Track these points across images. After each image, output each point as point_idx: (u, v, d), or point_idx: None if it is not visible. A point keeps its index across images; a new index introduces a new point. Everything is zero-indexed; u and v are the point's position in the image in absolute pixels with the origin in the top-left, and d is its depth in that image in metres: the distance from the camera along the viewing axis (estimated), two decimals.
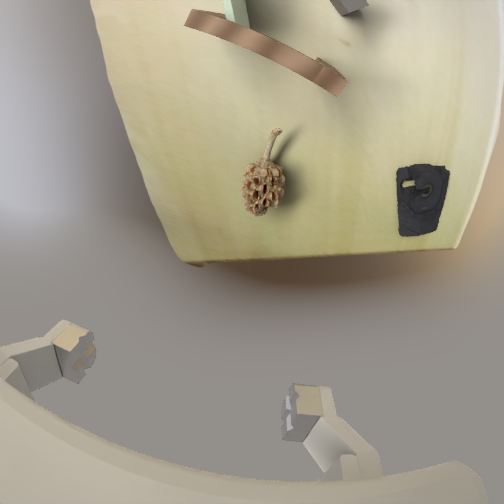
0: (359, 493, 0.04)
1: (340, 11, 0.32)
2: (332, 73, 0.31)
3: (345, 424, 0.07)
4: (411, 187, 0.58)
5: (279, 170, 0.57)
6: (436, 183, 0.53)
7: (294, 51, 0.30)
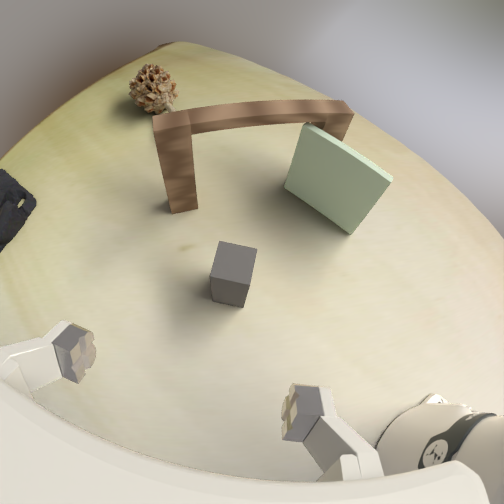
0: (359, 493, 0.04)
1: None
2: (175, 125, 0.26)
3: (345, 424, 0.07)
4: None
5: (148, 101, 0.45)
6: None
7: (231, 117, 0.27)
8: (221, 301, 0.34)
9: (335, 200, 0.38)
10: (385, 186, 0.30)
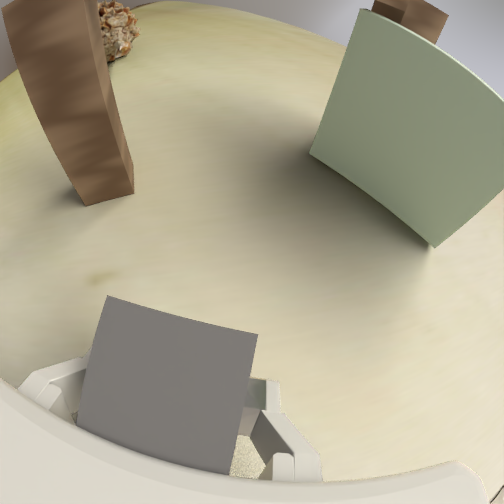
0: (359, 493, 0.04)
1: None
2: None
3: (287, 421, 0.07)
4: None
5: None
6: None
7: None
8: None
9: (419, 179, 0.16)
10: None
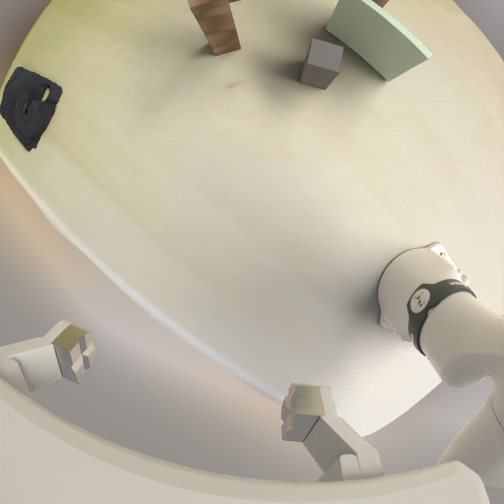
0: (359, 493, 0.04)
1: None
2: None
3: (345, 424, 0.07)
4: (40, 97, 0.36)
5: None
6: (26, 127, 0.36)
7: None
8: (308, 83, 0.35)
9: (375, 52, 0.28)
10: (423, 59, 0.22)
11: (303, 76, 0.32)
